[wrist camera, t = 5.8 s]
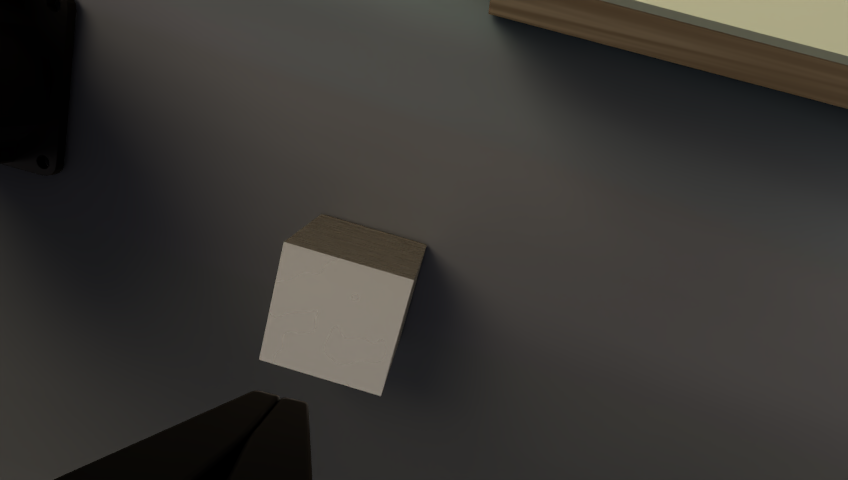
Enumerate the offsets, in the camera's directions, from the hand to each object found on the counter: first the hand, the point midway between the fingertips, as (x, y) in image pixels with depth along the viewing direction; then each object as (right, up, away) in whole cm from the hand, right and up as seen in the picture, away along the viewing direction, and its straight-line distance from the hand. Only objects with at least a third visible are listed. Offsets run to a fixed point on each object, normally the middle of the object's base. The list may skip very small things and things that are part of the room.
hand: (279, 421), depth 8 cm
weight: (0, +1, +12) cm, 12 cm away
